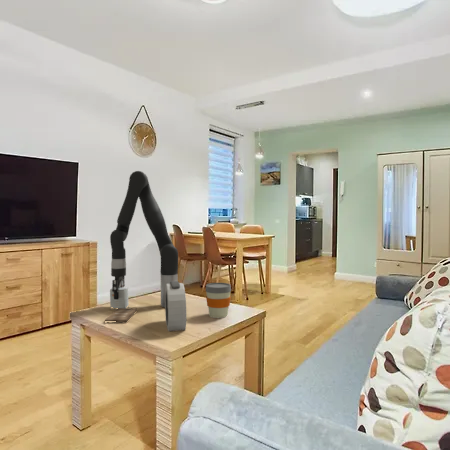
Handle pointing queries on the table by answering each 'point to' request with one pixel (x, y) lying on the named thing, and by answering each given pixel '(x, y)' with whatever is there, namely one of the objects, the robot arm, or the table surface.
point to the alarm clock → (175, 306)
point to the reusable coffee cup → (218, 299)
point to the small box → (122, 300)
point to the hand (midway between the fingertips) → (118, 297)
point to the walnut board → (121, 314)
